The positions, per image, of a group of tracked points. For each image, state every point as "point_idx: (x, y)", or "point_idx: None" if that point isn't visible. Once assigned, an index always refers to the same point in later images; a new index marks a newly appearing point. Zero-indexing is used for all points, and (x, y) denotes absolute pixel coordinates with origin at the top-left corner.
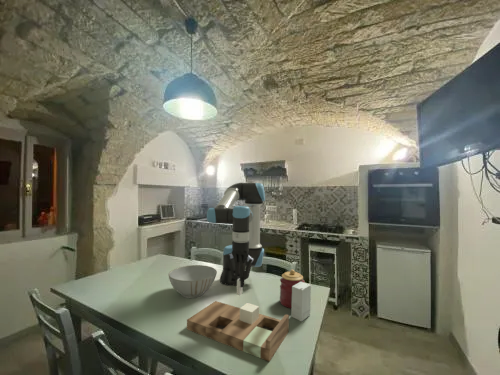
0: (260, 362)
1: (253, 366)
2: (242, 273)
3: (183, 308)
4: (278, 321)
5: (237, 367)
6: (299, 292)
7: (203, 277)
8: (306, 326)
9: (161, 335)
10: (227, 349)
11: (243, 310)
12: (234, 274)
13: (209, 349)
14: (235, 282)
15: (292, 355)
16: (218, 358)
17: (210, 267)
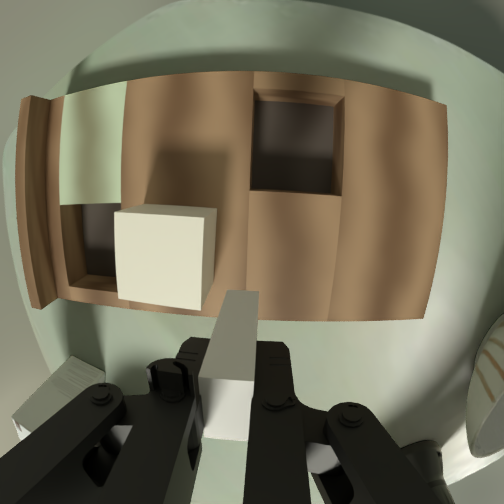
0: (82, 88)
1: (95, 63)
2: (114, 464)
3: (500, 241)
4: (72, 286)
5: (134, 31)
6: (25, 415)
7: (495, 413)
8: (51, 334)
9: (457, 60)
10: (202, 68)
11: (176, 214)
12: (326, 449)
13: (266, 39)
14: (290, 366)
15: None
16: (208, 23)
17: (491, 452)
